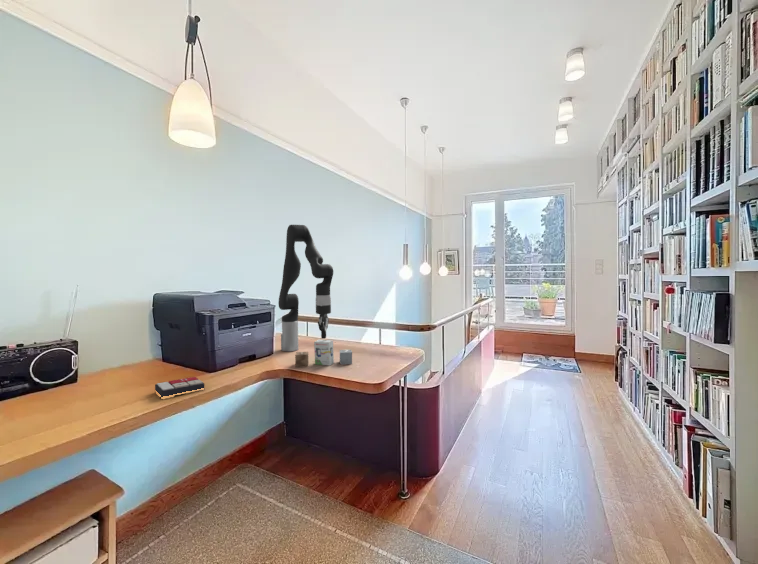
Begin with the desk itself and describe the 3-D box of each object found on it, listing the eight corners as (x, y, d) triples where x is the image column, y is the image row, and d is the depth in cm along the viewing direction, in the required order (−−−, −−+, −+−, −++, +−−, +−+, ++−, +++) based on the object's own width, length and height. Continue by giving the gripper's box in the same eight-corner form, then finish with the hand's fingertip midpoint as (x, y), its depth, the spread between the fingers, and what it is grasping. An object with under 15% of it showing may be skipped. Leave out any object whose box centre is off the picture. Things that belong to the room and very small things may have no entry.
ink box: (334, 363, 177) (333, 340, 177) (329, 365, 172) (329, 342, 172) (318, 361, 180) (318, 339, 179) (314, 364, 175) (313, 341, 174)
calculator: (204, 381, 140) (161, 389, 130) (204, 392, 140) (161, 400, 130) (196, 375, 148) (154, 382, 137) (195, 385, 148) (154, 393, 137)
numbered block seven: (340, 364, 175) (340, 352, 174) (339, 361, 181) (339, 349, 180) (352, 364, 176) (352, 351, 175) (351, 360, 181) (351, 349, 181)
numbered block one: (295, 367, 171) (295, 354, 171) (296, 363, 177) (296, 351, 177) (308, 366, 172) (307, 354, 172) (308, 363, 178) (308, 351, 177)
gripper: (319, 302, 182) (320, 335, 183) (312, 305, 169) (312, 340, 170) (333, 302, 181) (334, 335, 182) (327, 305, 168) (327, 341, 169)
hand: (323, 338), depth 176 cm, fingers closed
